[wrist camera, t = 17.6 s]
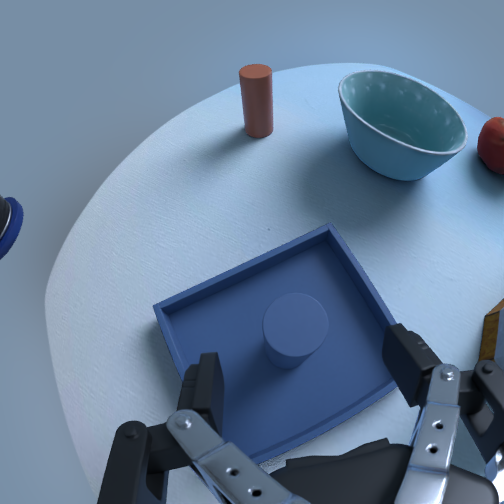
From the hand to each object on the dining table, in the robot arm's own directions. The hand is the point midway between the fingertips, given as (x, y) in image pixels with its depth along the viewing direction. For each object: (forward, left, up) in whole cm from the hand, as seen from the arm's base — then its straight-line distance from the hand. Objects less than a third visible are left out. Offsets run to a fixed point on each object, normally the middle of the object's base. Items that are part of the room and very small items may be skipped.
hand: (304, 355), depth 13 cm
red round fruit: (+42, +8, -12) cm, 44 cm away
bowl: (+24, +16, -12) cm, 31 cm away
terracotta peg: (+11, +27, -12) cm, 31 cm away
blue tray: (+1, +2, -12) cm, 12 cm away
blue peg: (+1, +2, -11) cm, 11 cm away
